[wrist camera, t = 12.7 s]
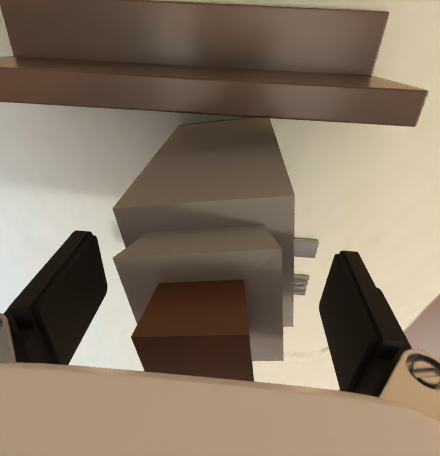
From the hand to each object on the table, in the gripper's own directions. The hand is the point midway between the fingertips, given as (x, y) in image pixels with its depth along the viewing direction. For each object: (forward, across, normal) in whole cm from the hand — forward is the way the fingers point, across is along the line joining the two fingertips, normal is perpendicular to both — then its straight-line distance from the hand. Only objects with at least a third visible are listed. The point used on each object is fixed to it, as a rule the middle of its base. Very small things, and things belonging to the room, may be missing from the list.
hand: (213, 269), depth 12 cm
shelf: (+14, +3, -7) cm, 16 cm away
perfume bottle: (+14, 0, +1) cm, 14 cm away
